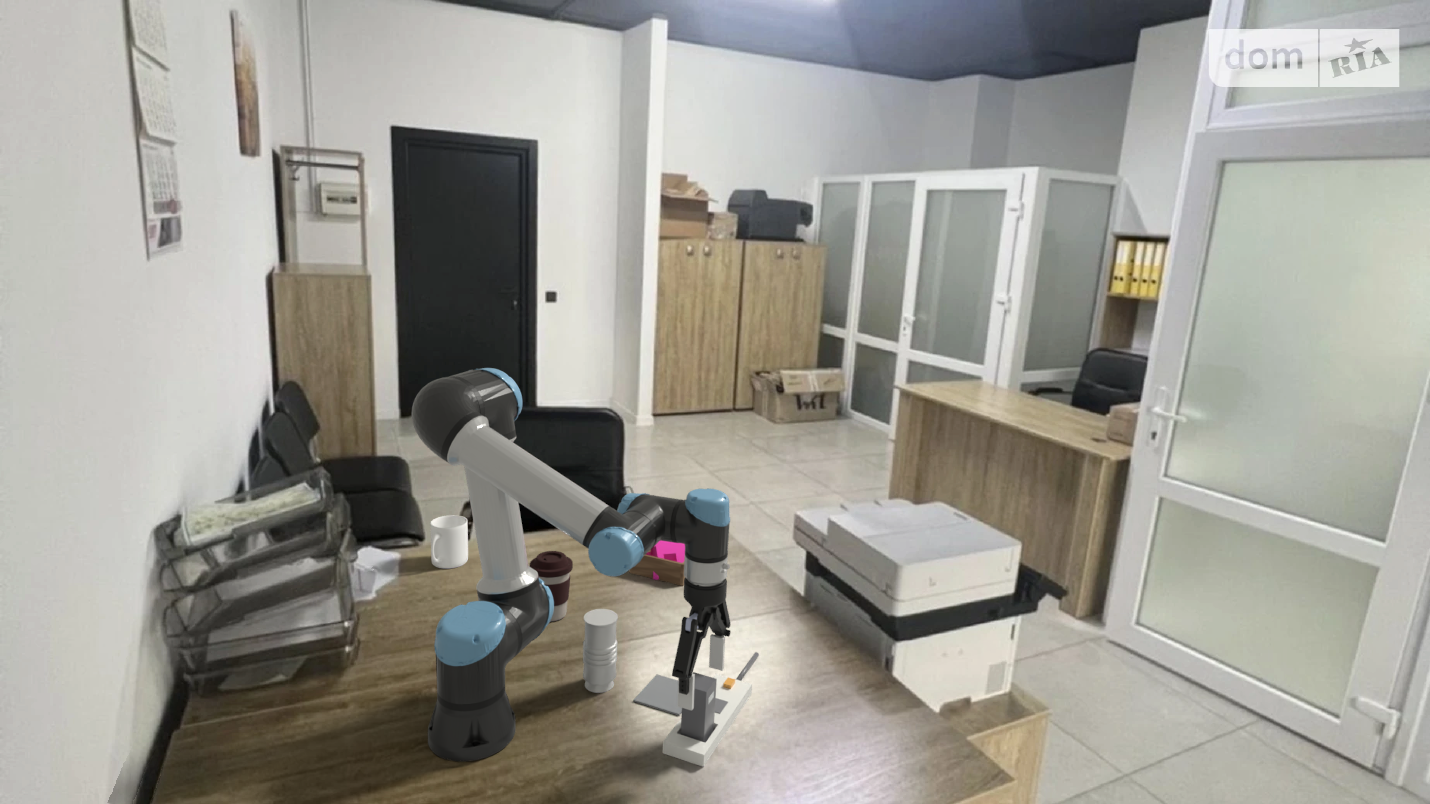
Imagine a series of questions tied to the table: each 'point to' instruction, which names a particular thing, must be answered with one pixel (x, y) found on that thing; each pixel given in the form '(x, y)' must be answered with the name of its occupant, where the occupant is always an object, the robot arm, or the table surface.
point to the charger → (700, 710)
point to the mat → (661, 695)
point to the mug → (449, 541)
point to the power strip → (727, 708)
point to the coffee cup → (555, 578)
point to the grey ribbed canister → (600, 650)
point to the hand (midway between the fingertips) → (701, 687)
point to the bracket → (668, 552)
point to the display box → (660, 569)
